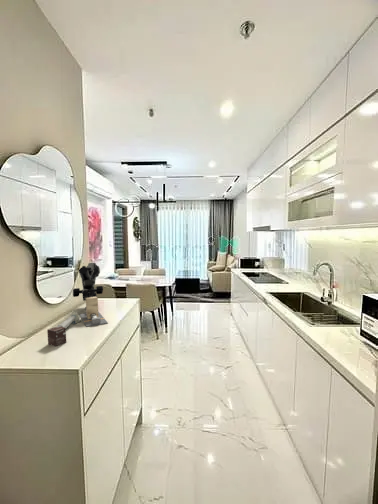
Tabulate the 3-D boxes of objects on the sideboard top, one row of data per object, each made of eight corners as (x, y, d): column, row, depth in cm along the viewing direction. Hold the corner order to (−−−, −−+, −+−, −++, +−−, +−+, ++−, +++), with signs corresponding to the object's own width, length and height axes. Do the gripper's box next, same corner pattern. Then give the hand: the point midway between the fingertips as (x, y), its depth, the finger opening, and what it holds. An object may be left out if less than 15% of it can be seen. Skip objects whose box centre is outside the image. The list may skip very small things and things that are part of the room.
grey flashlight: (51, 328, 155) (71, 309, 179) (53, 340, 156) (73, 320, 180) (61, 328, 154) (80, 309, 179) (63, 339, 156) (81, 319, 180)
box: (55, 346, 138) (54, 331, 138) (47, 344, 141) (46, 329, 141) (66, 342, 143) (66, 327, 143) (59, 340, 146) (58, 325, 146)
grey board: (79, 315, 194) (79, 309, 194) (98, 312, 199) (98, 307, 199) (86, 326, 167) (85, 320, 167) (107, 323, 173) (107, 317, 172)
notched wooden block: (86, 317, 185) (85, 297, 184) (97, 315, 188) (96, 296, 187) (87, 318, 180) (86, 299, 180) (98, 317, 183) (97, 297, 183)
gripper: (72, 276, 190) (74, 296, 180) (102, 273, 198) (106, 292, 189) (71, 286, 197) (74, 306, 188) (100, 284, 205) (104, 302, 196)
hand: (89, 301), depth 190 cm, fingers closed
